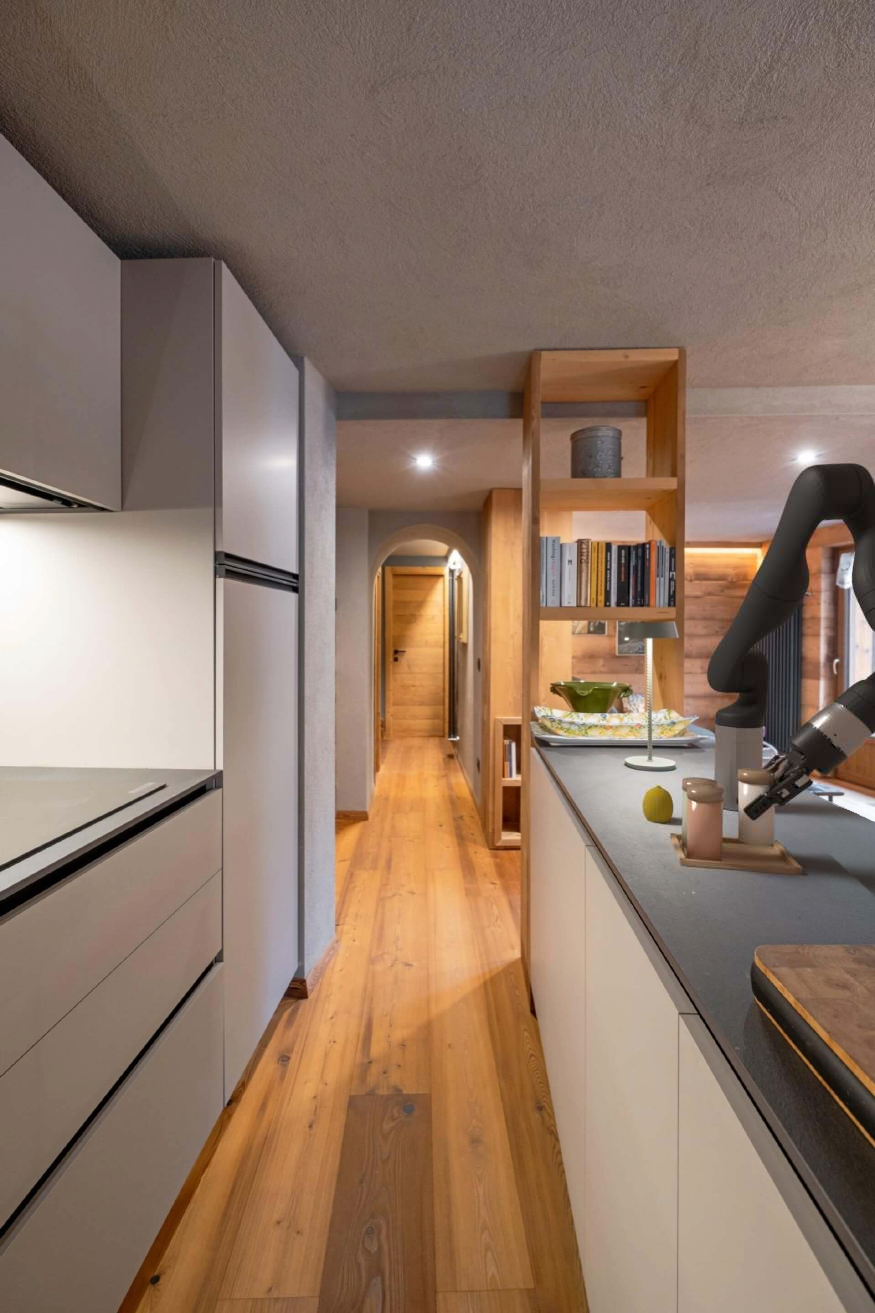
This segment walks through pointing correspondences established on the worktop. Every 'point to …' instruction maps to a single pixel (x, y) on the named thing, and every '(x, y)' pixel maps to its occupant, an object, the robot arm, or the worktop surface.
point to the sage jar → (685, 784)
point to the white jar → (749, 789)
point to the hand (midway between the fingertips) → (744, 810)
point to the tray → (743, 857)
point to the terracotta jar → (704, 822)
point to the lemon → (658, 805)
